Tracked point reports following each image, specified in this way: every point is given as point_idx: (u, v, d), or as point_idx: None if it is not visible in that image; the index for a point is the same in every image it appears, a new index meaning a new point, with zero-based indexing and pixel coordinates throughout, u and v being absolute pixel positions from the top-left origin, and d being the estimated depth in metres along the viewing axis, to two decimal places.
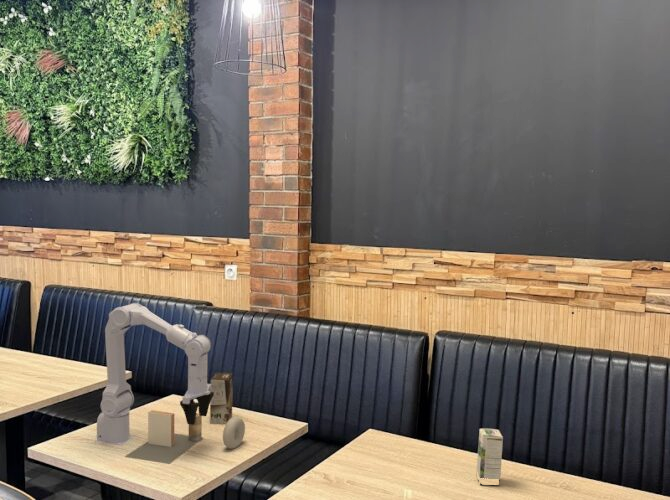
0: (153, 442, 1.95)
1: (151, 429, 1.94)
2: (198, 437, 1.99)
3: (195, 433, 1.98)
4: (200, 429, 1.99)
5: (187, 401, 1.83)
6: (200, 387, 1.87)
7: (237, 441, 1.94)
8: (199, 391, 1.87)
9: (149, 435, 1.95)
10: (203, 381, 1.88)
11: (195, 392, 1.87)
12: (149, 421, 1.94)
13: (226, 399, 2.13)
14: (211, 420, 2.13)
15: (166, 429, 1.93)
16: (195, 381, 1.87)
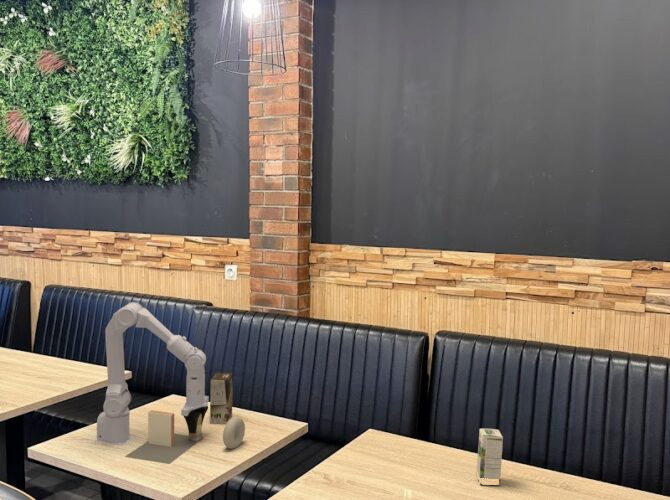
0: (153, 442, 1.95)
1: (151, 429, 1.94)
2: (198, 437, 1.99)
3: (195, 433, 1.98)
4: (200, 429, 1.99)
5: (185, 413, 1.92)
6: (198, 399, 1.96)
7: (237, 441, 1.94)
8: (197, 403, 1.96)
9: (149, 435, 1.95)
10: (201, 394, 1.97)
11: (193, 404, 1.96)
12: (149, 421, 1.94)
13: (226, 399, 2.13)
14: (211, 420, 2.13)
15: (166, 429, 1.93)
16: (193, 394, 1.96)
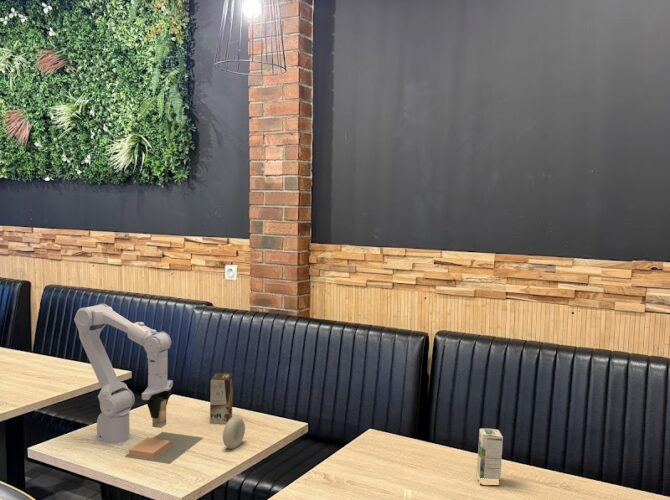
0: None
1: None
2: (163, 423, 1.91)
3: (159, 419, 1.90)
4: (164, 415, 1.92)
5: (146, 397, 1.84)
6: (160, 383, 1.89)
7: (237, 441, 1.94)
8: (159, 387, 1.89)
9: None
10: (163, 377, 1.89)
11: (155, 388, 1.88)
12: None
13: (226, 399, 2.13)
14: (211, 420, 2.13)
15: None
16: (155, 377, 1.88)
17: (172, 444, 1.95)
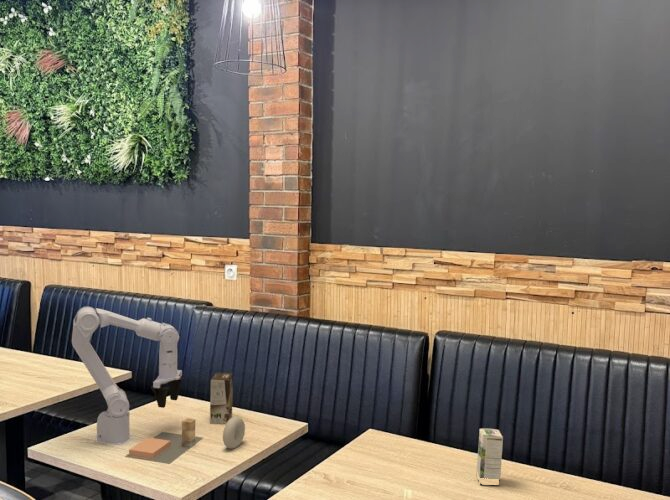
0: None
1: None
2: (192, 443, 1.94)
3: (188, 439, 1.93)
4: (193, 434, 1.95)
5: (157, 385, 1.96)
6: (170, 372, 2.00)
7: (237, 441, 1.94)
8: (169, 376, 2.00)
9: None
10: (173, 367, 2.01)
11: (165, 377, 2.00)
12: None
13: (226, 399, 2.13)
14: (211, 420, 2.13)
15: None
16: (165, 367, 2.00)
17: (172, 444, 1.95)
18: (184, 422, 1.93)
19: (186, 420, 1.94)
